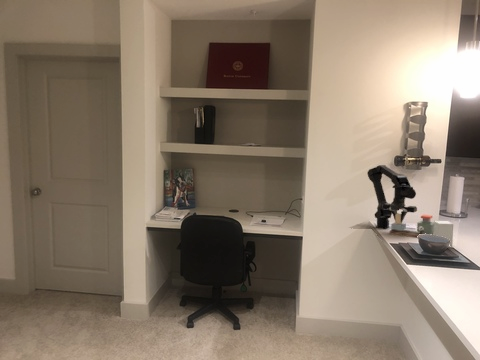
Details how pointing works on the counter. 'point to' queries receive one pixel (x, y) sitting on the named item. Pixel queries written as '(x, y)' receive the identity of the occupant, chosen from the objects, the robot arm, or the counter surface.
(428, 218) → the button
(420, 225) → the green jar
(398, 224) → the blue and cream block
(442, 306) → the counter surface
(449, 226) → the supplement box
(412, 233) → the rail bed
